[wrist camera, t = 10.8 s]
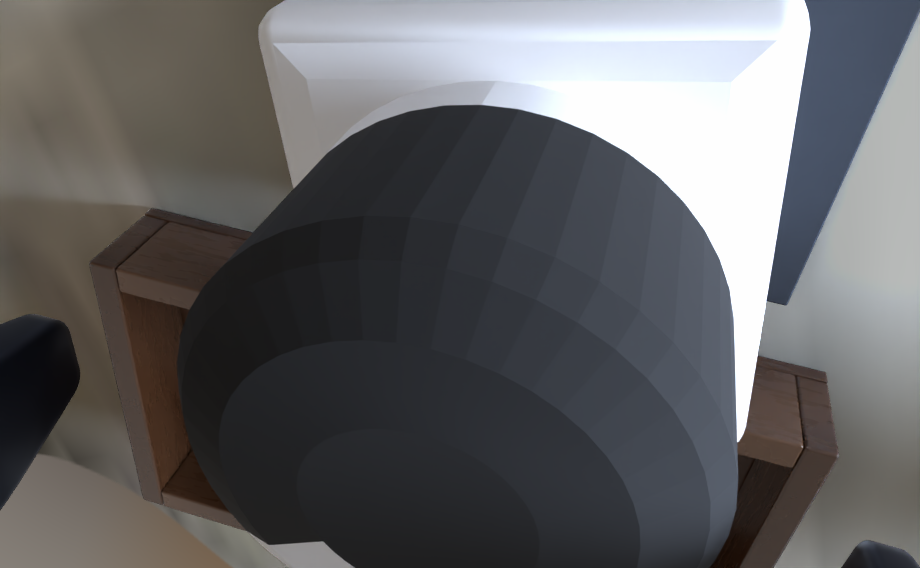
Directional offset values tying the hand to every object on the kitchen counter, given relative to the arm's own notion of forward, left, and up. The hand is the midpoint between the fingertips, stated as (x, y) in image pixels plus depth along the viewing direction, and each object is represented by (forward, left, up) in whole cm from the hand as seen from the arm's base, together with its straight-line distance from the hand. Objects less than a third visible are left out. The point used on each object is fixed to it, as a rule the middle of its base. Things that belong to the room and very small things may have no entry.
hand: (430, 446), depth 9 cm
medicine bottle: (0, 0, -11) cm, 11 cm away
